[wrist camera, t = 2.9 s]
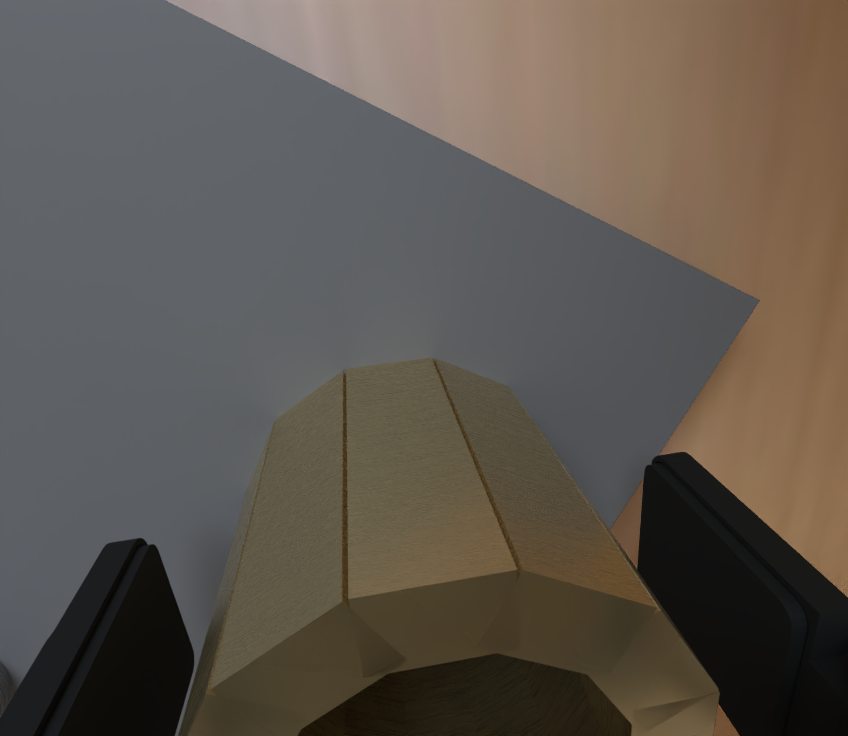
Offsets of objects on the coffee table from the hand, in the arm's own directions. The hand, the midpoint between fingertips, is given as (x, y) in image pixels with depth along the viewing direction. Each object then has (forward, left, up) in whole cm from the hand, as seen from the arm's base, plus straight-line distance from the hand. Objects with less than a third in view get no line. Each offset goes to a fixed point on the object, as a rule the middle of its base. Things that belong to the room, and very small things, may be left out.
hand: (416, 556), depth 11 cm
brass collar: (0, 0, -2) cm, 2 cm away
